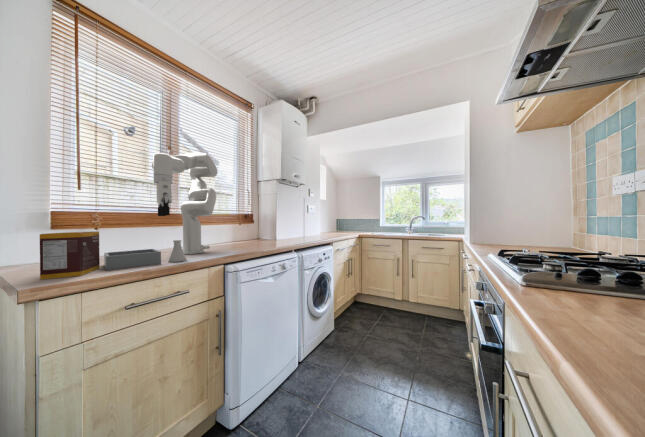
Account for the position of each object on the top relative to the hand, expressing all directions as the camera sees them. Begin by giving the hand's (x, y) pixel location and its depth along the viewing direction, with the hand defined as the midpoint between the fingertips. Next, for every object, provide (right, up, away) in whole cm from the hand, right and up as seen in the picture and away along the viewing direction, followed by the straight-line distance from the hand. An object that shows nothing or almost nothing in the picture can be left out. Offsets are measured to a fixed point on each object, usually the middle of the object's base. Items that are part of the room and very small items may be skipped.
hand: (163, 215), depth 109 cm
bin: (-10, -22, -6) cm, 25 cm away
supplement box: (-18, -22, -23) cm, 37 cm away
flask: (+6, -22, 0) cm, 23 cm away
